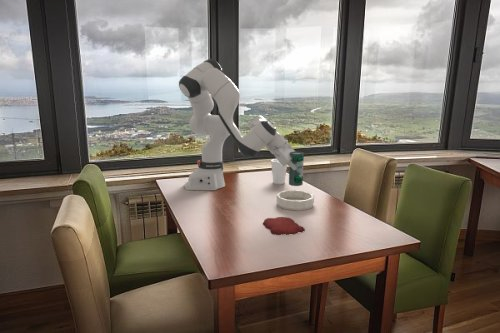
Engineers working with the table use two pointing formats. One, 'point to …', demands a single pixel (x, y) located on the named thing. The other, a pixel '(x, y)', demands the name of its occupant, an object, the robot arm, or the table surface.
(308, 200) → the bowl
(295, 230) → the red flat splat
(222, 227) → the table surface
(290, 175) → the can
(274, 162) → the foam cup
